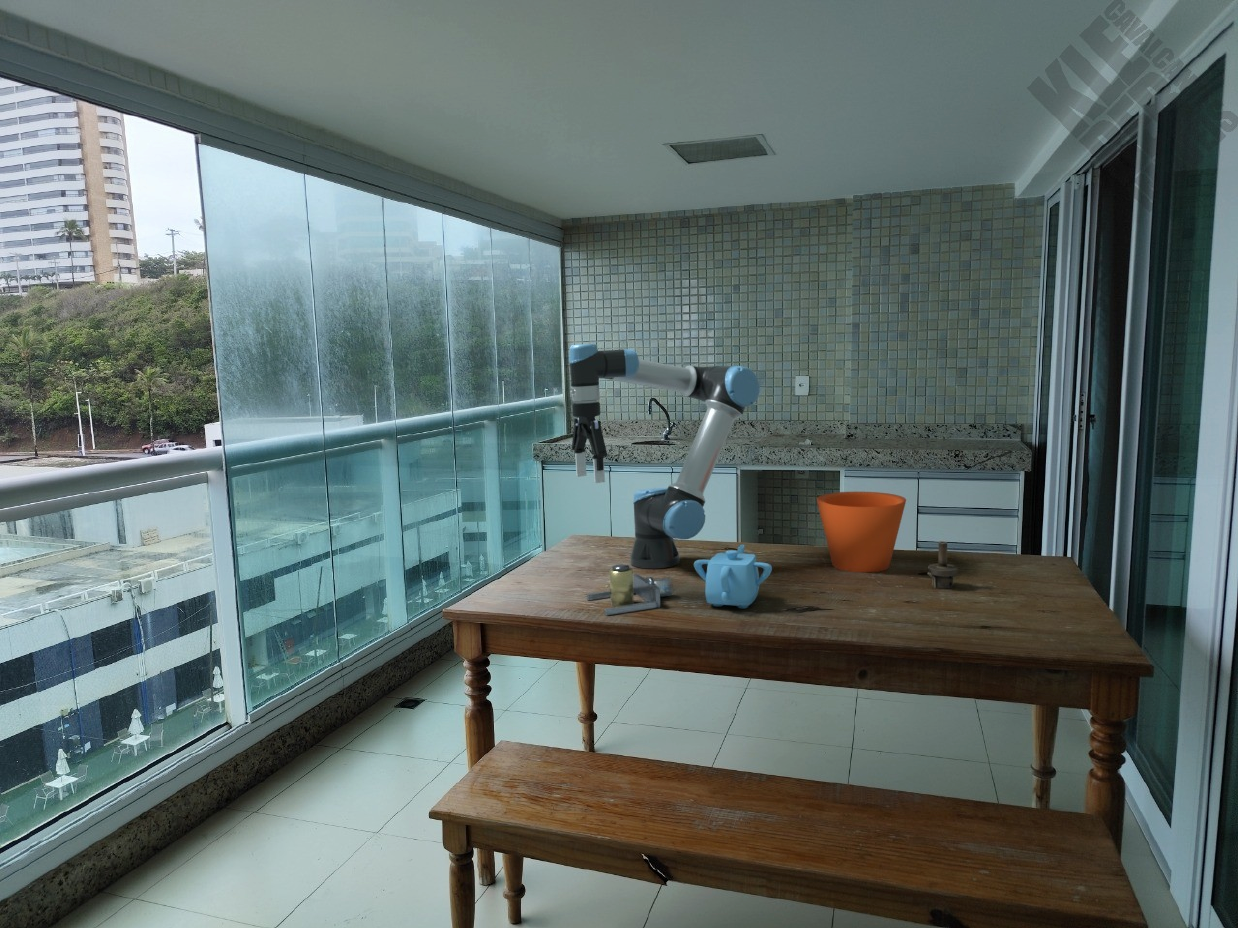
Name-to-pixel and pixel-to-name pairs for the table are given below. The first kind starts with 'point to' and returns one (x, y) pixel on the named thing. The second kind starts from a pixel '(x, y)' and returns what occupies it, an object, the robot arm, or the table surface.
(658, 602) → the flange cradle
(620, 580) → the yellow jar
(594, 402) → the robot arm
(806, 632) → the table surface
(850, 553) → the flowerpot
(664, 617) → the table surface
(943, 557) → the industrial component
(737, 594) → the light blue boxy pot
